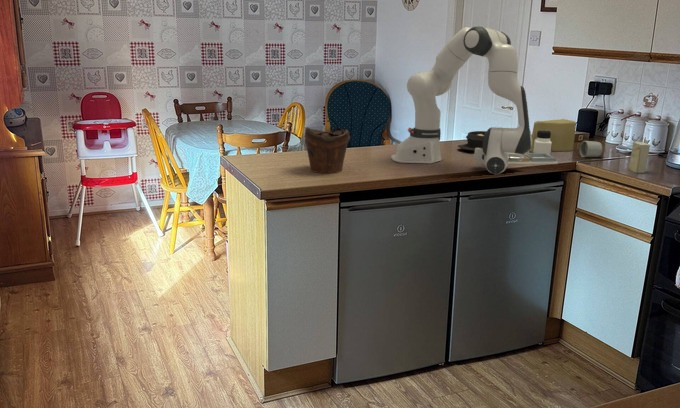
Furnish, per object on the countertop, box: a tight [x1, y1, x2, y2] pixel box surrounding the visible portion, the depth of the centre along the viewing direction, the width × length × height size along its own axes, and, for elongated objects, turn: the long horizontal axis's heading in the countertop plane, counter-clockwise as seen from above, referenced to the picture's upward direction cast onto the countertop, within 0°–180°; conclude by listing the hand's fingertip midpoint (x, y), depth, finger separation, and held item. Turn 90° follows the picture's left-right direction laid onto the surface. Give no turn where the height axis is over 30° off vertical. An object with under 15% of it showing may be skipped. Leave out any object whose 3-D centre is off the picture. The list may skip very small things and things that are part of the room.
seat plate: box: [508, 152, 559, 165], centre depth 277 cm, size 24×13×2 cm, turn 95°
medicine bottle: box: [532, 130, 552, 156], centre depth 287 cm, size 7×7×12 cm
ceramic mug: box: [579, 140, 604, 158], centre depth 288 cm, size 11×8×8 cm
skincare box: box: [628, 141, 651, 174], centre depth 258 cm, size 6×4×12 cm
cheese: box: [529, 118, 577, 153], centre depth 299 cm, size 22×10×15 cm, turn 112°
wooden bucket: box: [304, 127, 351, 174], centre depth 253 cm, size 18×20×18 cm
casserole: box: [457, 130, 487, 152], centre depth 299 cm, size 25×19×8 cm
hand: (499, 151), depth 265 cm, fingers open, 8 cm apart
